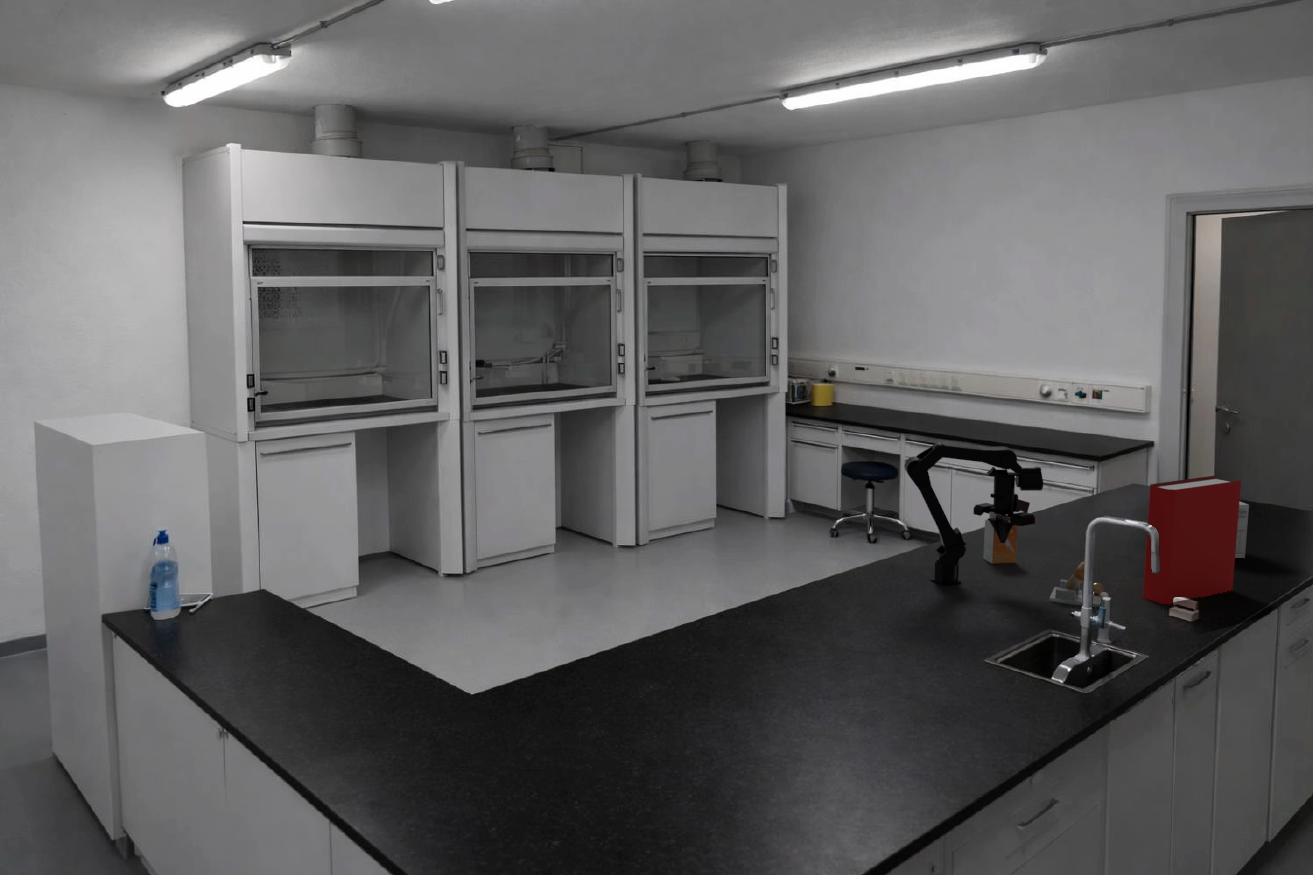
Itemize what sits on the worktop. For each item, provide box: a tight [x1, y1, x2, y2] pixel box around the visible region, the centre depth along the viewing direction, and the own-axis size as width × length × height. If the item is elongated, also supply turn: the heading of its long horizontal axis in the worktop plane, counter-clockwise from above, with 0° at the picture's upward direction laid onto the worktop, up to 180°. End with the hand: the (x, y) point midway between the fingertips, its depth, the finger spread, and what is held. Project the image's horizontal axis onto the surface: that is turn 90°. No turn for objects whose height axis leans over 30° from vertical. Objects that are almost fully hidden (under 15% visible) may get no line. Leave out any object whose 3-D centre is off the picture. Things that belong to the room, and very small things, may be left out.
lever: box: [1064, 561, 1086, 590], centre depth 279 cm, size 3×6×10 cm
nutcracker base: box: [1048, 579, 1109, 606], centre depth 279 cm, size 14×11×5 cm
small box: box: [983, 519, 1019, 565], centre depth 317 cm, size 8×6×13 cm
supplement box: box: [1235, 500, 1250, 559], centre depth 322 cm, size 13×13×18 cm
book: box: [1142, 475, 1242, 605], centre depth 281 cm, size 27×8×32 cm, turn 114°
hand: (1002, 542), depth 293 cm, fingers closed
